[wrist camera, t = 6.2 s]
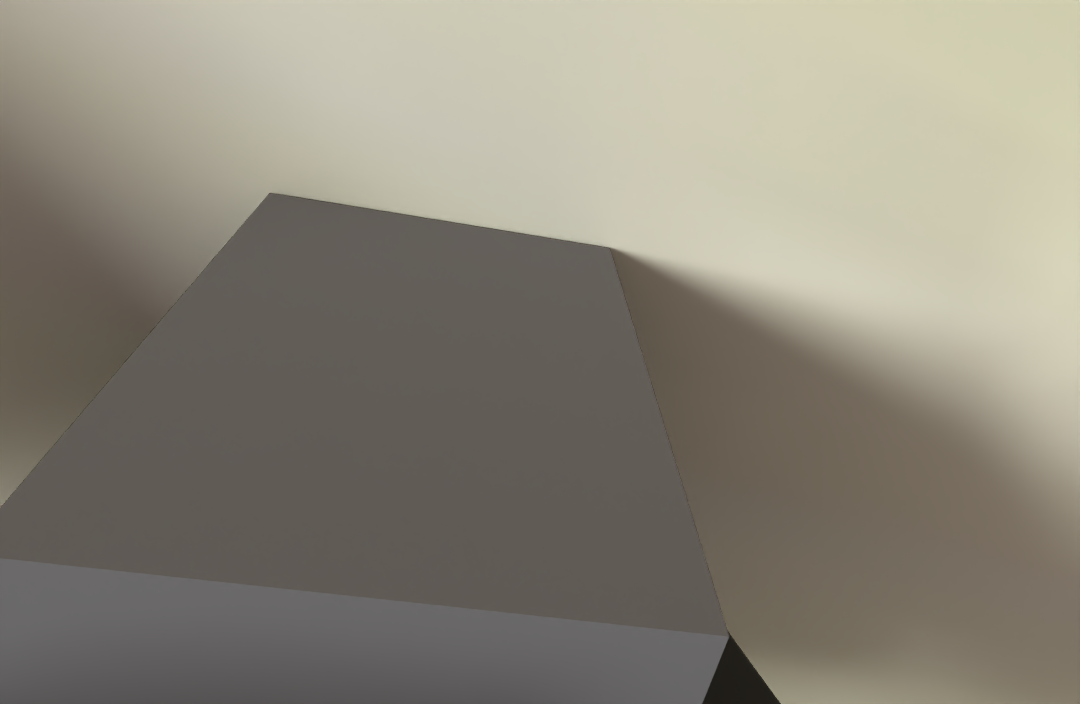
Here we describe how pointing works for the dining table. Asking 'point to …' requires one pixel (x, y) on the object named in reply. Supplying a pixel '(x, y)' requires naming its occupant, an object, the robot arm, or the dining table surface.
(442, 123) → the dining table surface
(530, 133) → the dining table surface
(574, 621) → the block
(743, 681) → the robot arm
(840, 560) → the dining table surface
